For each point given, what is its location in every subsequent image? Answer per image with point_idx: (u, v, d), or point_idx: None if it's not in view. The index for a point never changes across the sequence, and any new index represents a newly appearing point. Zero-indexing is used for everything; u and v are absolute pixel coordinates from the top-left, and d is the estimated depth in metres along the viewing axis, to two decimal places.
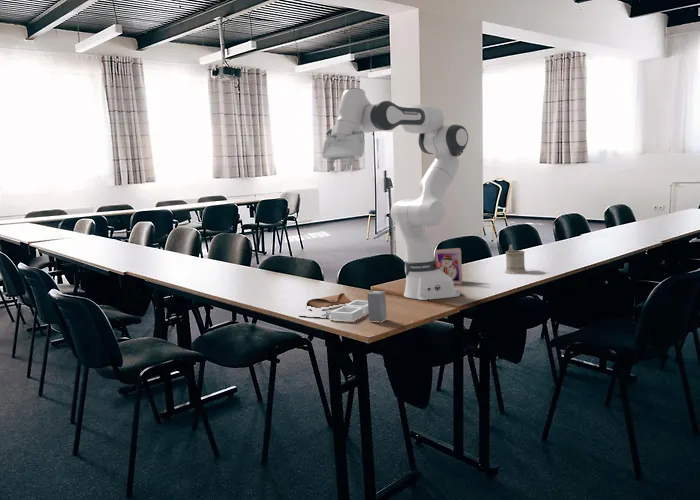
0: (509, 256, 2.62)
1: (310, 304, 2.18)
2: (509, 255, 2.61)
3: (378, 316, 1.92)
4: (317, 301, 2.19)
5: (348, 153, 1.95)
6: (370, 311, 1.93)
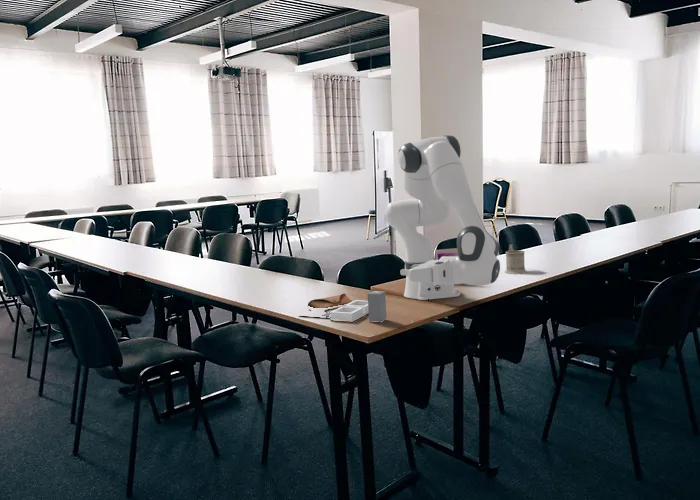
0: (509, 256, 2.62)
1: (311, 304, 2.17)
2: (509, 255, 2.61)
3: (378, 316, 1.92)
4: (318, 301, 2.18)
5: None
6: (370, 311, 1.93)
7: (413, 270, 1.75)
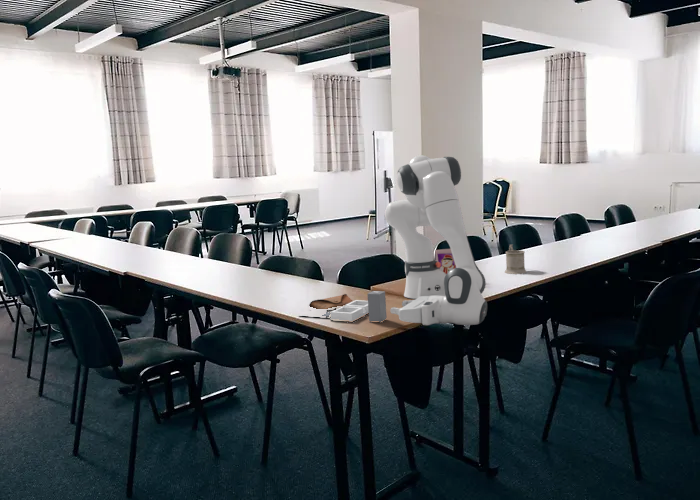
0: (509, 256, 2.62)
1: (313, 305, 2.16)
2: (509, 255, 2.61)
3: (378, 316, 1.92)
4: (320, 302, 2.17)
5: None
6: (370, 311, 1.93)
7: (403, 310, 1.79)
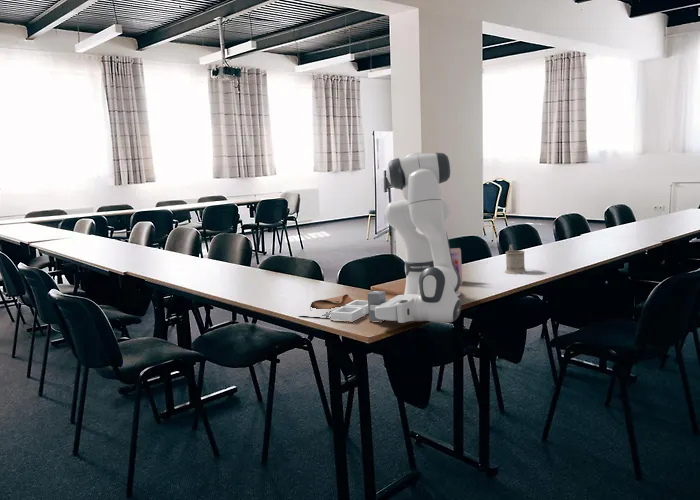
0: (509, 256, 2.62)
1: (314, 305, 2.15)
2: (509, 255, 2.61)
3: None
4: (321, 302, 2.16)
5: None
6: (370, 311, 1.93)
7: (378, 308, 1.83)
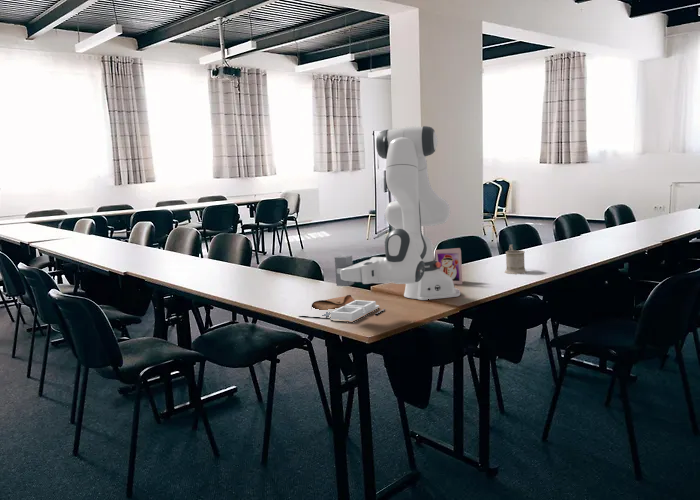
0: (509, 256, 2.62)
1: (315, 306, 2.14)
2: (509, 255, 2.61)
3: None
4: (322, 303, 2.15)
5: None
6: (337, 275, 1.97)
7: (344, 270, 1.87)
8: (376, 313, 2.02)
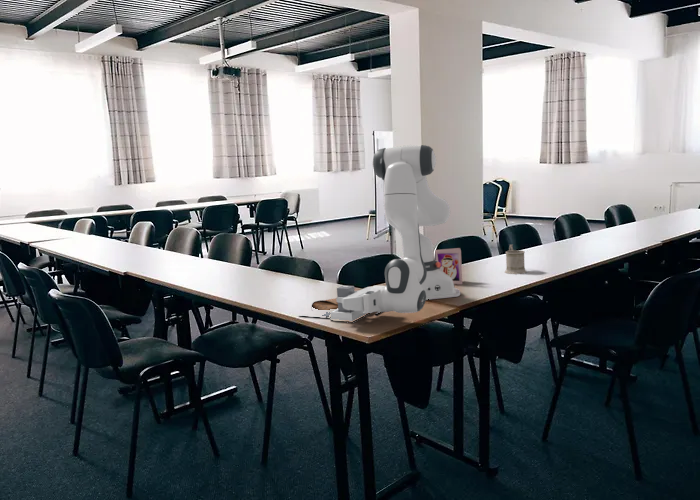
0: (509, 256, 2.62)
1: (315, 306, 2.14)
2: (509, 255, 2.61)
3: (347, 310, 1.98)
4: (322, 303, 2.15)
5: None
6: (339, 305, 1.99)
7: (346, 299, 1.88)
8: (376, 313, 2.02)
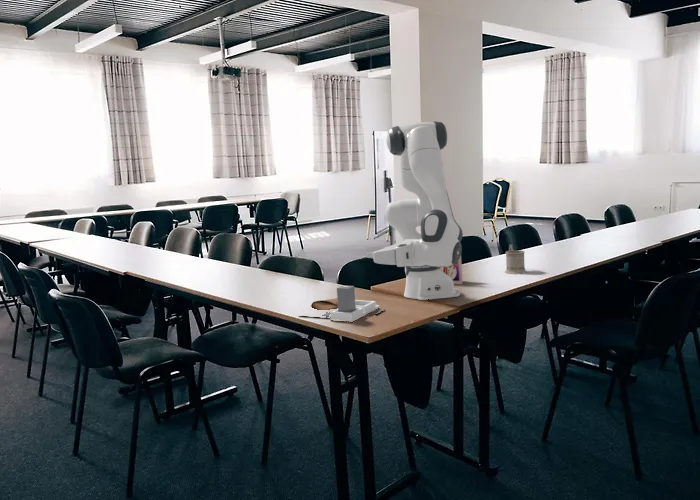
0: (509, 256, 2.62)
1: (314, 306, 2.14)
2: (509, 255, 2.61)
3: (347, 310, 1.98)
4: (321, 303, 2.15)
5: None
6: (339, 305, 1.99)
7: (377, 252, 1.80)
8: (376, 313, 2.02)
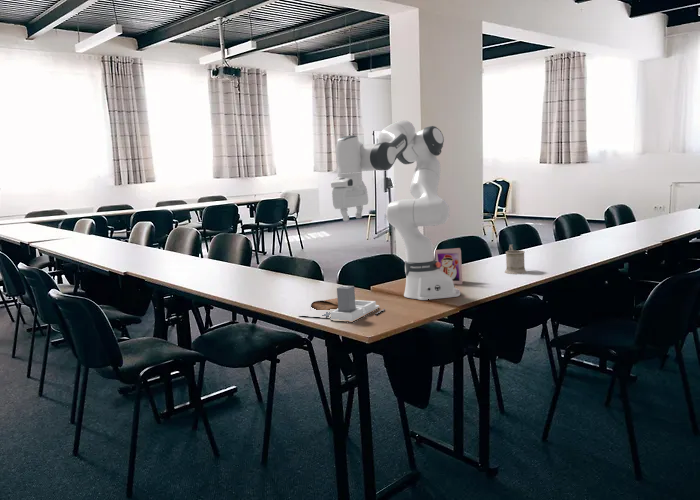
0: (509, 256, 2.62)
1: (314, 306, 2.14)
2: (509, 255, 2.61)
3: (347, 310, 1.98)
4: (321, 303, 2.15)
5: (363, 203, 2.10)
6: (339, 305, 1.99)
7: (333, 203, 1.98)
8: (376, 313, 2.02)
